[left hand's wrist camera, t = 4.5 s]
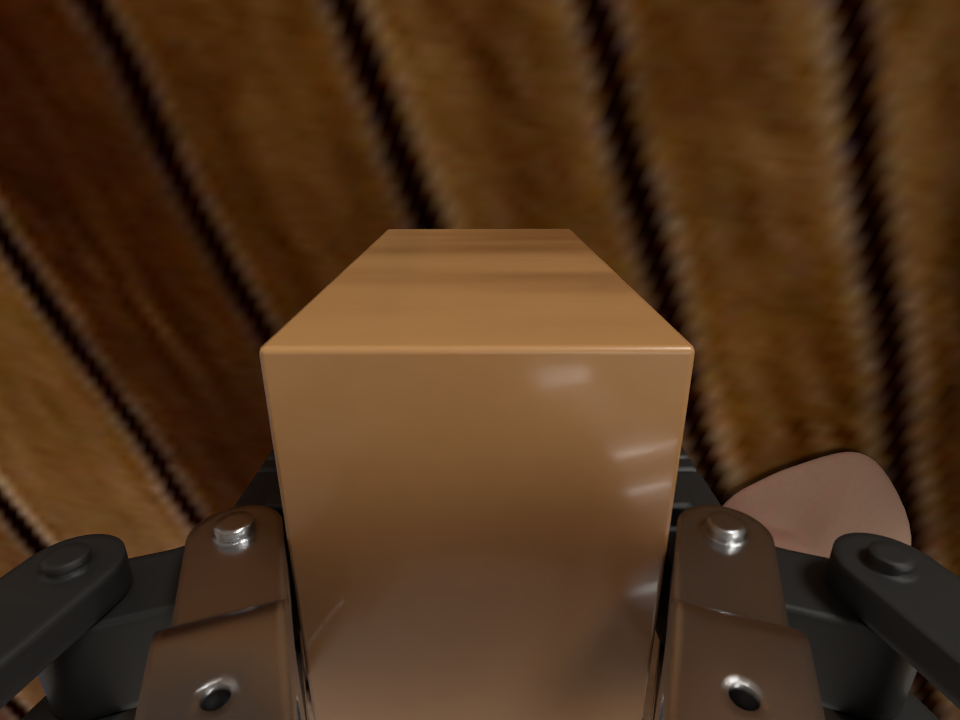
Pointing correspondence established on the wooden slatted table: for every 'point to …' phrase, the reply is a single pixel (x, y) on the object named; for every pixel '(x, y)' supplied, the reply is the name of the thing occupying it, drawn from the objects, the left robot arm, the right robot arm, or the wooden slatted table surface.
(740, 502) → the anatomical model
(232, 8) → the wooden slatted table surface
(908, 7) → the wooden slatted table surface
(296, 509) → the bar
